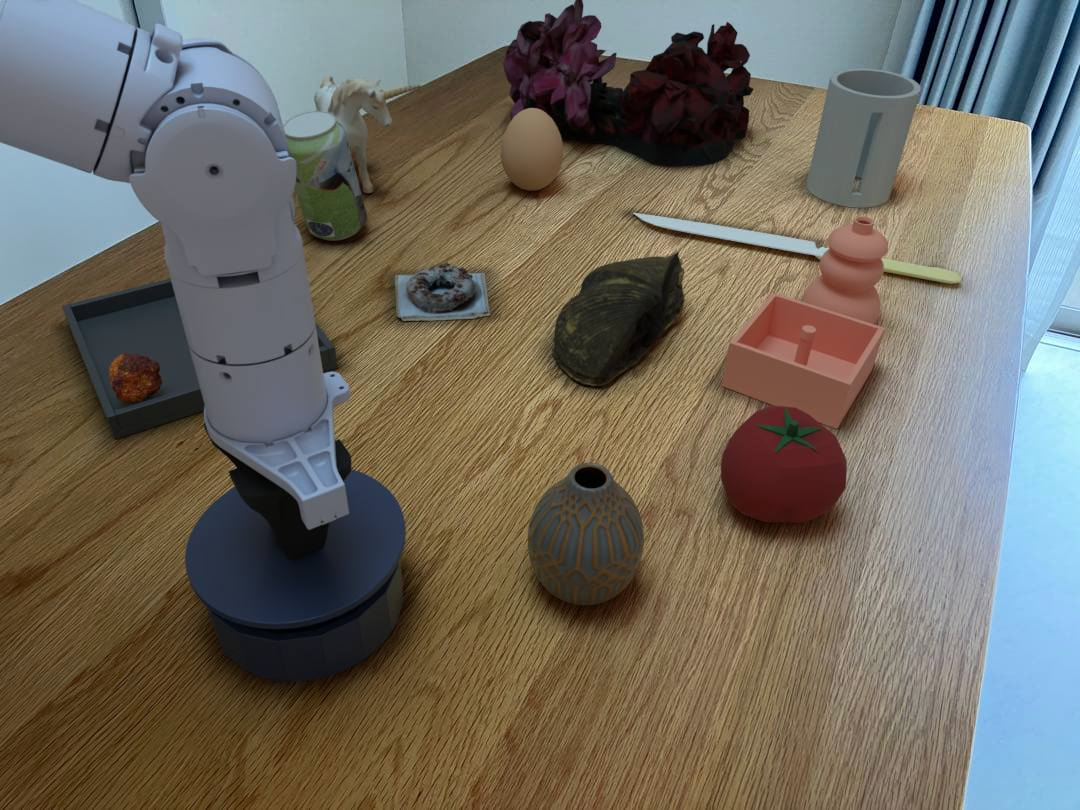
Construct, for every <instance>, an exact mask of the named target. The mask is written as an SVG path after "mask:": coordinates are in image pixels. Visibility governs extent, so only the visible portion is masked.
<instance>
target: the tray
mask: <svg viewBox="0 0 1080 810" xmlns="http://www.w3.org/2000/svg"><path fill="white" fill-rule="evenodd" d="M61 308H62V311H63V313H64V316H65V319H66V322H67V325H68V327H69V329H70V332H71V334H72V337H73V340H74V342H75V344H76V347H77V349H78V352H79V355H80V356H81V359H82V362H83V364H84V367H85V369H86V372H87V375H88V376H89V379H90V381H91V384H92V387H93V389H94V392H95V394H96V397H97V398H98V401H99V404H100V406H101V408H102V411H103V413H104V416H105V418H106V421H107V423H108V426H109V428H110V432H111V433H112V436H113V439H115V440H118V439H121V438H124V437H127V436H130V435H133V434H137V433H140V432H143V431H146V430H149V429H151V428H156V427H159V426H161V425H164V424H168V423H170V422H174V421H177V420H180V419H183V418H187V417H189V416H192V415H195V414H198V413H203V412H204V407H205V404H204V401H203V397H202V393H201V390H200V386H199V382H198V379H197V375H196V371H195V368H194V364H193V360H192V356H191V353H190V349H189V345H188V341H187V337H186V334H185V330H184V326H183V323H182V319H181V315H180V311H179V308H178V304H177V300H176V297H175V293H174V289H173V286H172V282H171V278H170V277H168V278H166V279H163V280H158V281H154V282H150V283H146V284H143V285H139V286H134V287H130V288H126V289H122V290H118V291H114V292H111V293H107V294H102V295H99V296H95V297H91V298H86V299H83V300H80V301H74V302H71V303H67V304H63V305H61ZM315 325H316V331H317V337H318V344H319V351H320V357H321V363H322V369H323V373H327V372H330V371H333V370H335V369H338V360H337V359H338V358H337V353H336V347H335V345H334V344H333V343H332V342H331V340H330V339H329V338H328V336H327V334H325V332H324V331H323V330H322V329H321V327H320V326H319V325H318V324H317V322H316V321H315ZM124 353H128V354H135V353H136V354H139V355H144V356H146V357H148V358H149V359H151V360H155V361H157V362H159V365H160V371H159V374H160V375H161V379H162V381H163V383H162V384H161V386H160V389H159V390H158V392H157V393H155V394H154V395H153V396H151V395H150V396H149V398H147V397H146V399H145V400H146V401H141V402H139V403H137V404H133V403H125V402H123V401H121V400H120V399H118V398H117V397H116V394H115V392H114V390H113V388H112V386H111V383H110V382H111V380H110V378H109V374H110V373H109V372H110V370H109V369H110V366H111V363H112V362H113V361H114V360H115V359H116V358H117V357H118V356H120V355H122V354H124Z"/></svg>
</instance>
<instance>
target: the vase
mask: <svg viewBox="0 0 1080 810" xmlns="http://www.w3.org/2000/svg"><path fill="white" fill-rule="evenodd" d="M612 475H613V474H612V473H611V472H610V470H609V469H608V468H607V467H606V466H604V465H602V464H599V463H596V462H582V463H579V464H577V465H575V466H574V467H573V468H572V469H570V471H569V473H568V474H567V475H566V476H564V477H563V478H561V479H560V480H559V481H557V482H556V483H554V484H553V485H551V486H550V487H549V488H548V489H547V490H546V491H545V492H544V493H543V494H542V495H541V497H540V498H539V500H538V501H537V503H536V505H535V507H534V509H533V512H532V514H531V517H530V521H529V524H528V530H527V549H528V550H527V551H528V557H529V562H530V564H531V567H532V570H533V572H534V574H535V576H536V578H537V579H538V581H539V582H540V584H541V585H542V586H543V587H544V589H545V590H547V591H548V592H549V593H550V594H552V595H553V596H554V597H556V598H557V599H559V600H561V601H563V602H566V603H568V604H572V605H578V606H595V605H598V604H602V603H606V602H607V601H609V600H611V599H614V598H615V597H617V596H618V595H619V594H621V593H622V592H623V591H624V590H625V589H626V588H627V587H628V586H629V585H630V583H631V582H632V580H633V579H634V577H635V575H636V573H637V572H638V569H639V567H640V564H641V560H642V558H643V557H642V556H643V553H644V545H645V544H644V543H645V535H644V534H645V533H644V531H645V530H644V525H643V521H642V517H641V514H640V511H639V509H638V506H637V504H636V503H635V500H634V499H633V498H632V496H631V495H630V494H629V492H628V491H627V490H626V489H625V488H623V486H621V485H620V484H619V483H618V482H617V481H616V480H615V479H614V477H613V476H612Z"/></svg>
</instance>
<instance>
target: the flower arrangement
mask: <svg viewBox="0 0 1080 810" xmlns="http://www.w3.org/2000/svg"><path fill="white" fill-rule="evenodd" d="M584 8H585V7H584V1H583V0H574V2H573V4H570V5H568V6H567V7H565V8H564V9H563V10H562V12H561V13H560V14H559V15H558V17H556V16H555V15H554V14H551V13H550V12H548V13H545V14H544V21H543V20H535V21H531V20H529V21H526V22H524V23H523V24H521V25H520V27H519V28H518V30H517V36H516V38H515V39H513V40H512V41H511V43H510V44H509V46H508V47H507V49H506V51H505V57H504V60H503V63H502V64H503V71H504V73H505V77H506V79H507V82H508V83H509V84H510V90H509V92H508V95H509V97H510V98H511V100H512V102H513V103H514V105H513V106H512V107H511V110H510V112H509V113H510V114H509V115H510V121H511V120H512V119H513V117H514V116H516V115H517V114H518V113H519V112H521V111H523V110H525V109H528V108H537V109H540V110H542V111H544V112H545V113H547V114H548V115H549V116H550V117H551V118H552V119H553V121H554V123H555V124H556V126H557V128H558V130H559V132H560V135H561V139H569V140H575V141H583V142H586V143H594V144H601V145H602V144H603V145H610V146H614V147H615V146H616V147H617V148H619V149H620V150H623V151H624V152H625V151H626V152H627V153H630V154H632V155H634V156H636V157H638V158H640V159H642V160H644V161H646V162H648V163H650V164H651V165H657V166H663V167H668V168H670V167H673V168H674V167H675V168H677V167H704V166H708V165H713V164H715V163H718V162H720V161H723V160H725V159H726V158H727V157H728V156H729V154H730V153H731V152H732V151H733V149H734V145H735V142H736V141H738V140H742V139H744V138H746V134H747V130H748V126H749V122H750V121H749V120H750V109H749V108H747V107H745V106H744V105H745V99H744V97H749V96H751V95H752V94H753V91H754V89H755V88H753V87H751V86H750V83H751V76H752V73H751V72H749V70H748V69H747V68H746V67H745V65H747V63H748V62H749V60H750V57H751V54H750V52H749V50H748V48H747V46H746V45H744V44H743V43H736V41H737V36H738V31H737V29H735V28H734V26H733V25H732V23H730V22H729V21H727V22H726V24H725V25H724V24H723V25H720V26H719V28H717V30H716V31H715V23H714V24H711V27H710V33H709V36H708V39H707V42H706V43H707V44H706V51H705V50H704V49H703V47H700V46H699V44H700V43H701V42H702V41H703V40H704V39H705V36H704V33H702V32H700V31H691V32H689V33H686V34H685V33H681V32H678V31H677V32H675V33H674V34H672V35H671V36H670V40H671V44H669V45H668V47H666V49H665V50H664V51H663V52H661V53H658V54H655V55H653V56H652V58H651V59H650V62H649V63H648V65H647V67H645V69H641V70H635V71H633V72H631V73H630V76H629V83H628V84H627V85H626V86H625V87H624V89H623V88H622V87H612V86H608V82H604V81H603V77H604V76H606V75H608V73H610V72H611V71H612V70H613V69H614V68H615V67H616V61H617V52H613V53H611V54H610V55H609V56H608V57H607V58H605V59H603V60H601V61H600V57H601V56H603V54H604V53H606V52H607V49H606V50H605V49H598V44H597V43H595V42H593V41H595V40H596V39H597V37H598V35H599V33H600V31H601V29H602V22H601V21H600V19H599V18H598V17H597V16H596V15H595V14H593V15H592V14H589V15H583V14H584ZM728 69H731V72H730V73H728V74H727V75H726V74H725V72H726V71H727V70H728Z"/></svg>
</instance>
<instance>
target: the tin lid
mask: <svg viewBox="0 0 1080 810" xmlns="http://www.w3.org/2000/svg"><path fill="white" fill-rule="evenodd" d="M344 484H345V489H346V496H347V502H348V508H349V514H348V515H345V516H343V517H340V518H338V519H336V520H334V521H331V522H329V527H328V533H327V539H326V543H325V546H324V548H322V549H319V550H317V551H314V552H312V553H310V554H307V555H305V556H302V557H300V558H297V559H295V560H293V561H292V560H289V559H288V557H287V556H286V555H285V554H284V552H283V550H282V549H281V547H280V545H279V543H278V541H277V539H276V538H275V536H274V534H273V531H272V529H271V527H270V525H269V523H268V522H267V521H266V519H265V518H264V517H263V516H262V515H261V514H259V513H258V512H256V511H254V510H253V509H251V508H250V507H249V506H248V505H247V504H246V503H245V502H244V500H243V499H242V498H241V497H240V495H239V493H238V491H237V489H236V487H235V486H234V487H232V488H230V489H229V490H227V491H226V492H225V493H223V494H222V495H221V496H219V497H218V498H217V499H215V500H214V502H213V503H211V504H210V505H209V507H208V508H207V509H206V510H204V512H203V513H202V514H201V516H200V517H199V518H198V519H197V521H196V523H195V525H194V526H193V528H192V530H191V532H190V534H189V537H188V540H187V543H186V547H185V555H184V564H185V571H186V574H187V579H188V582H189V585H190V587H191V588H192V590H193V592H194V594H195V596H196V597H197V598H198V599H199V600H200V602H201V603H202V604H203V605H204V606H205V607H206V606H207V607H208V608H209V609H210V610H211V611H213V612H214V613H216V614H218V615H219V616H221V617H223V618H225V619H227V620H230V621H232V622H234V623H237V624H241V625H245V626H248V627H255V628H262V629H289V628H298V627H304V626H309V625H313V624H317V623H320V622H324V621H327V620H329V619H332V618H335V617H337V616H340V615H342V614H344V613H346V612H348V611H349V610H351V609H353V608H355V607H357V606H358V605H360V604H361V603H363V602H364V601H366V600H367V599H368V598H369V597H371V596H372V595H373V594H374V593H376V592H377V591H378V590H379V589H380V588H381V587H382V586H383V585H384V584H385V582H386V581H387V580H388V579H389V577H390V576H391V575H392V573H393V572H394V570H395V568H396V567H397V565H398V563H399V561H400V562H401V558H402V556H403V554H404V550H405V546H406V537H407V536H406V535H407V534H406V531H407V529H406V522H405V521H406V520H405V516H404V513H403V510H402V508H401V507H402V506H401V505H400V503H399V501H398V500H397V498H396V497H395V495H394V494H393V493H392V492H391V491H390V489H388V488H387V487H386V486H385V485H384V484H382V482H380V481H379V480H376V478H374V477H372V476H370V475H368V474H365V473H364V472H362V471H359V470H355V469H353V468H351V472H350V474H349V475H348V476H347V477H346V479H345V480H344ZM207 607H206V608H207Z"/></svg>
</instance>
